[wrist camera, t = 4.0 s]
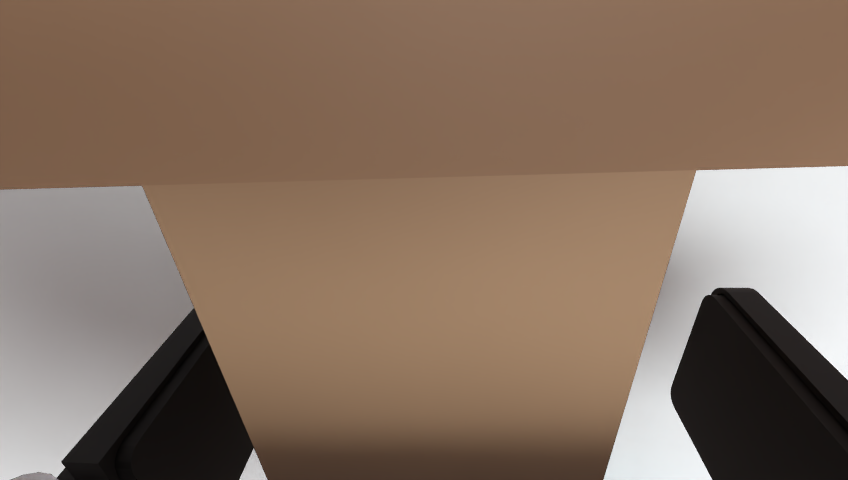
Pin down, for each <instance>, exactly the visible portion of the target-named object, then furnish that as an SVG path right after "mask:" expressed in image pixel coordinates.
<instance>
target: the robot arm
mask: <svg viewBox="0 0 848 480" xmlns="http://www.w3.org/2000/svg"><path fill="white" fill-rule="evenodd" d="M671 399H672V403H673V405H674V408H675V410H676V411H677V413H678V415H679V417H680V419H681V421H682V423H683V425H684V427H685V429H686V430H687V432H688V434H689V436H690V438H691V440H692V442H693V444H694V446H695V447H696V449H697V451H698V453H699V455H700V457H701V459H702V461H703V463H704V465H705V466H706V468H707V470H708V472H709V474H710V476H711V478H712V480H848V380H847V379H846V378H845V377H844V376H843V375H842V374H841V373H840V372H839V371H838V370H837V369H836V368H835V367H834V366H833V365H832V364H831V363H830V362H829V361H828V360H827V359H825V358H824V357H823V356H822V355H821V354H820V353H819V352H818V351H817V350H816V349H815V348H814V347H813V346H812V345H811V344H810V343H809V342H808V341H807V340H806V339H805V338H804V337H803V336H802V335H801V334H800V333H799V332H798V331H797V330H796V329H795V328H794V327H793V326H792V325H791V324H790V323H789V322H788V321H787V320H786V319H785V318H784V317H783V316H782V315H781V314H780V313H779V312H778V311H777V310H775V309H774V308H773V307H772V306H771V305H770V304H769V303H768V302H767V301H766V300H765V299H764V298H763V297H762V296H761V295H760V294H759V293H758V292H757V291H755V290H754V289H751V288H717V289H715V290H714V291H713V292H712V294H711V295H707V296H705V297H704V299H703V300H702V303H701V306H700V308H699V311H698V314H697V317H696V320H695V322H694V325H693V328H692V331H691V334H690V336H689V339H688V342H687V345H686V348H685V350H684V353H683V356H682V359H681V361H680V364H679V367H678V370H677V373H676V375H675V378H674V381H673V384H672V387H671ZM253 448H254V446H253V444H252V442H251V439H250V437H249V435H248V432H247V430H246V428H245V425H244V423H243V421H242V418H241V416H240V414H239V411H238V409H237V407H236V404H235V402H234V400H233V397H232V395H231V393H230V390H229V388H228V386H227V383H226V381H225V379H224V376H223V374H222V372H221V369H220V367H219V365H218V362H217V360H216V358H215V355H214V353H213V351H212V348H211V346H210V343H209V341H208V339H207V336H206V334H205V332H204V329H203V327H202V325H201V322H200V320H199V318H198V315H197V313H196V311H195V308H194V309H193V310H192V311H191V312H190V313H189V314H188V316H187V317H186V318H185V319H184V320H183V321H182V322H181V324H180V325H179V326H178V327H177V328H176V329H175V331H174V332H173V333H172V334H171V335H170V336H169V338H168V339H167V340H166V341H165V342H164V343H163V344H162V346H161V347H160V348H159V349H158V350H157V351H156V353H155V354H154V355H153V356H152V357H151V358H150V360H149V361H148V362H147V363H146V364H145V365H144V367H143V368H142V369H141V370H140V371H139V372H138V373H137V375H136V376H135V377H134V378H133V379H132V380H131V382H130V383H129V384H128V385H127V386H126V387H125V389H124V390H123V391H122V392H121V393H120V394H119V395H118V397H117V398H116V399H115V400H114V401H113V402H112V404H111V405H110V406H109V407H108V408H107V409H106V411H105V412H104V413H103V414H102V415H101V416H100V417H99V419H98V420H97V421H96V422H95V423H94V424H93V426H92V427H91V428H90V429H89V430H88V431H87V433H86V434H85V435H84V436H83V437H82V438H81V440H80V441H79V442H78V443H77V444H76V445H75V446H74V448H73V449H72V450H71V451H70V452H69V453H68V455H67V456H66V457H65V458H64V459H63V460H62V464H63V465H64V466H65V467H66V468H65V469H64V470H63V471H62V472H61V473H60V475H59V476H58V477H57V478H55V477H54V476H53V475H52V474H47V473H41V472H37V473H31V474H25V475H21V476H19V477H16V478H13V479H11V480H239V479H240V476H241V474H242V472H243V470H244V468H245V466H246V463H247V461H248V459H249V457H250V455H251V453H252V450H253Z"/></svg>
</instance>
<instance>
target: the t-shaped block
mask: <svg viewBox="0 0 848 480" xmlns="http://www.w3.org/2000/svg"><path fill="white" fill-rule="evenodd" d="M826 166H848V0H0V190H1V189H37V188H73V187H109V186H142V187H143V189H144V191H145V194H146V196H147V198H148V201H149V203H150V205H151V208H152V210H153V212H154V215H155V217H156V219H157V222H158V224H159V226H160V229H161V231H162V233H163V236H164V238H165V240H166V243H167V245H168V248H169V250H170V252H171V255H172V257H173V259H174V262H175V264H176V266H177V269H178V271H179V273H180V276H181V278H182V280H183V283H184V285H185V287H186V290H187V292H188V294H189V297H190V299H191V301H192V304H193V306H194V308H195V311H196V313H197V315H198V318H199V320H200V322H201V325H202V327H203V329H204V332H205V334H206V336H207V339H208V341H209V343H210V346H211V348H212V351H213V353H214V355H215V358H216V360H217V362H218V365H219V367H220V369H221V372H222V374H223V376H224V379H225V381H226V383H227V386H228V388H229V390H230V393H231V395H232V397H233V400H234V402H235V404H236V407H237V409H238V411H239V414H240V416H241V418H242V421H243V423H244V425H245V428H246V430H247V432H248V435H249V437H250V439H251V442H252V444H253V446H254V449H255V451H256V454H257V456H258V458H259V461H260V463H261V465H262V468H263V470H264V472H265V475H266V477H267V479H268V480H603V479H604V475H605V472H606V469H607V465H608V462H609V459H610V455H611V452H612V449H613V445H614V442H615V439H616V435H617V432H618V429H619V426H620V422H621V419H622V416H623V412H624V409H625V406H626V402H627V399H628V396H629V392H630V389H631V386H632V382H633V379H634V376H635V372H636V369H637V366H638V362H639V359H640V356H641V352H642V349H643V346H644V342H645V339H646V336H647V332H648V329H649V326H650V322H651V319H652V316H653V313H654V309H655V306H656V303H657V299H658V296H659V293H660V289H661V286H662V283H663V279H664V276H665V273H666V269H667V266H668V263H669V259H670V256H671V253H672V249H673V246H674V243H675V239H676V236H677V233H678V229H679V226H680V223H681V219H682V216H683V213H684V209H685V206H686V203H687V200H688V196H689V193H690V190H691V186H692V183H693V180H694V176H695V173H696V170H719V169H755V168H791V167H826Z"/></svg>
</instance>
